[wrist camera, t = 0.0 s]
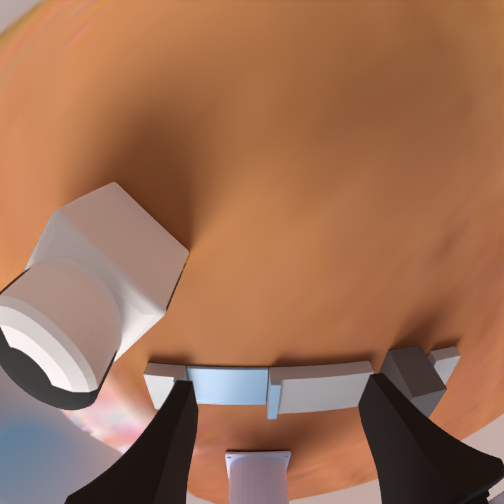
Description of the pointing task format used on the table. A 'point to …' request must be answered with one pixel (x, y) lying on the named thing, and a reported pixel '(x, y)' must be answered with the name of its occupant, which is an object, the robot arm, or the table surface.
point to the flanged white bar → (280, 383)
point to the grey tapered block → (414, 377)
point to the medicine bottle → (86, 296)
